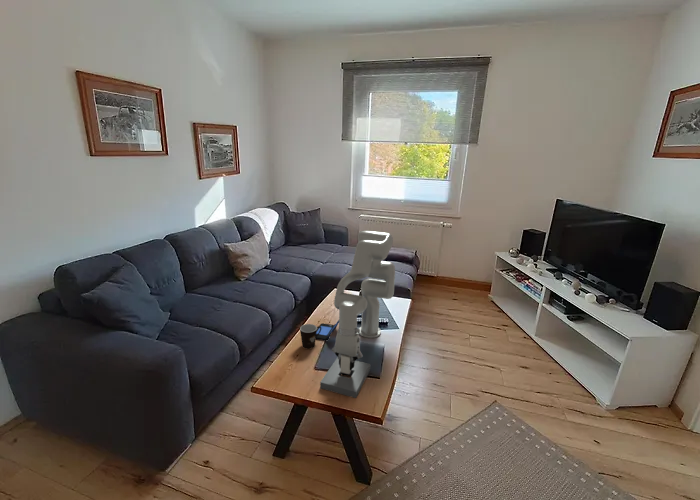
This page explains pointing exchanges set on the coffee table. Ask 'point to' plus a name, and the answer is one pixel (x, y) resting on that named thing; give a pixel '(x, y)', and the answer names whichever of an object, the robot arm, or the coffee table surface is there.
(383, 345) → the coffee table surface
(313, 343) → the coffee mug
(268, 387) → the coffee table surface
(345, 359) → the plug
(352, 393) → the socket plate
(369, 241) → the robot arm
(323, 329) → the handheld game console
